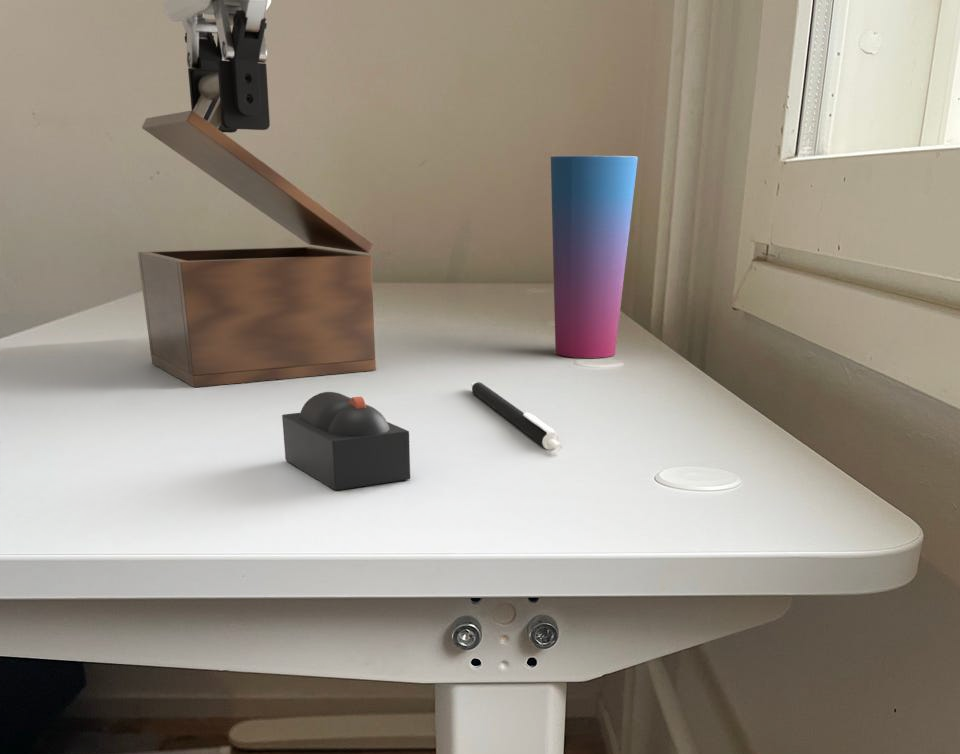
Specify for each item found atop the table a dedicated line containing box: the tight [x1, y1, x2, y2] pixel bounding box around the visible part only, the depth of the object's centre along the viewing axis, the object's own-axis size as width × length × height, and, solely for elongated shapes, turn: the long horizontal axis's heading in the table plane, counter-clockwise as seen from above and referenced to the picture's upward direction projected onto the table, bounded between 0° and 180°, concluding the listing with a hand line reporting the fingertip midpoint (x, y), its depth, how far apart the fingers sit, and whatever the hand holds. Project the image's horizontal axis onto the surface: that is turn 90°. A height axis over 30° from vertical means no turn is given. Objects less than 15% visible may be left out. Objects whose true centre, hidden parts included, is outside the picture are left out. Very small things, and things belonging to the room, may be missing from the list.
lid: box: [141, 73, 374, 254], centre depth 74 cm, size 15×12×5 cm
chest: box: [137, 246, 377, 388], centre depth 78 cm, size 14×12×8 cm
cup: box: [550, 155, 639, 359], centre depth 83 cm, size 7×7×15 cm
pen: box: [470, 381, 563, 452], centre depth 63 cm, size 1×19×1 cm, turn 14°
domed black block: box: [281, 391, 411, 491], centre depth 51 cm, size 7×4×4 cm, turn 31°
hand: (230, 127), depth 72 cm, fingers closed on lid, 6 cm apart
